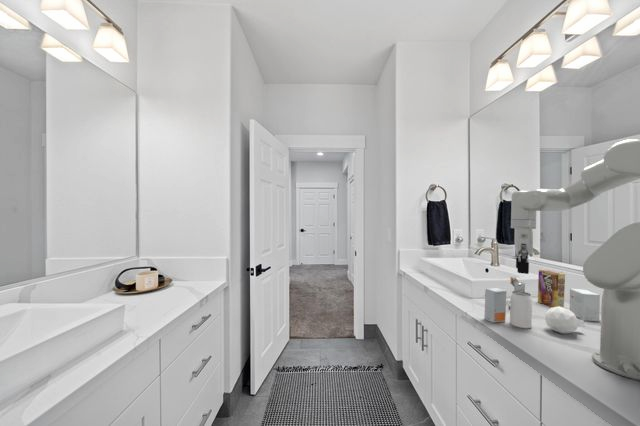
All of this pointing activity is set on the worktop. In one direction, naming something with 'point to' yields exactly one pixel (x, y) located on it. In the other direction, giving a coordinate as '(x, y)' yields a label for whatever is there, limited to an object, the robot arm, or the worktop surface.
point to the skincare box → (495, 305)
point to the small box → (585, 304)
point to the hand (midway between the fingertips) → (521, 270)
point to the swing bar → (517, 284)
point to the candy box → (551, 288)
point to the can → (521, 309)
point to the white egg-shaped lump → (562, 320)
